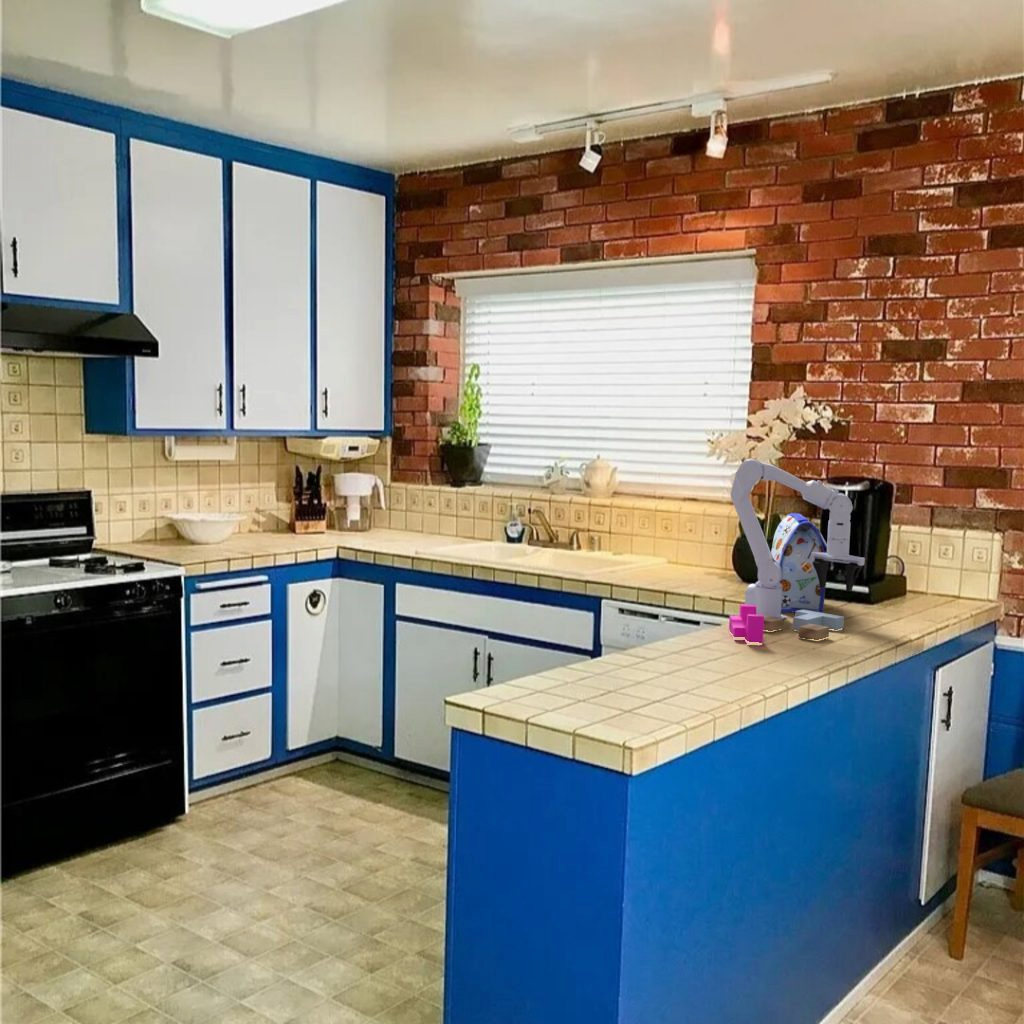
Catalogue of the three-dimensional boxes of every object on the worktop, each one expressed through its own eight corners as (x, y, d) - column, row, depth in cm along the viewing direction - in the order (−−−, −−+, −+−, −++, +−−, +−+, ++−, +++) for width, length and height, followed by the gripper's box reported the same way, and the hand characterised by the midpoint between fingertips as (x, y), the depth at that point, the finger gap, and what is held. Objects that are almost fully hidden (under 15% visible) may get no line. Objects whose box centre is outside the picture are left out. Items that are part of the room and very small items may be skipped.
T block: (778, 628, 272) (779, 614, 272) (802, 622, 281) (803, 609, 280) (820, 635, 264) (821, 622, 263) (843, 629, 272) (844, 616, 272)
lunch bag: (833, 615, 291) (839, 520, 288) (773, 612, 293) (778, 518, 290) (817, 600, 314) (822, 512, 311) (762, 598, 315) (766, 510, 312)
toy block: (728, 632, 266) (730, 603, 265) (753, 633, 266) (754, 604, 265) (736, 645, 251) (737, 615, 250) (762, 646, 251) (764, 616, 250)
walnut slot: (753, 629, 269) (754, 618, 269) (765, 626, 273) (766, 615, 273) (816, 642, 256) (817, 630, 256) (828, 638, 260) (829, 626, 260)
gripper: (806, 537, 280) (803, 586, 282) (857, 542, 270) (854, 594, 272) (819, 535, 285) (816, 583, 287) (869, 540, 275) (866, 591, 277)
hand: (835, 588), depth 280 cm, fingers open, 7 cm apart
